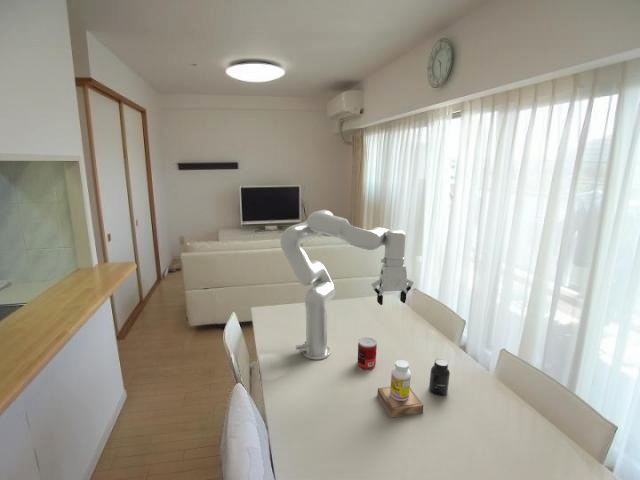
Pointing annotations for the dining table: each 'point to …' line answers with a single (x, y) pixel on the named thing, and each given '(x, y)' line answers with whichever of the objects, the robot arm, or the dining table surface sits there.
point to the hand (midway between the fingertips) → (391, 302)
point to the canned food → (367, 353)
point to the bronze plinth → (399, 403)
